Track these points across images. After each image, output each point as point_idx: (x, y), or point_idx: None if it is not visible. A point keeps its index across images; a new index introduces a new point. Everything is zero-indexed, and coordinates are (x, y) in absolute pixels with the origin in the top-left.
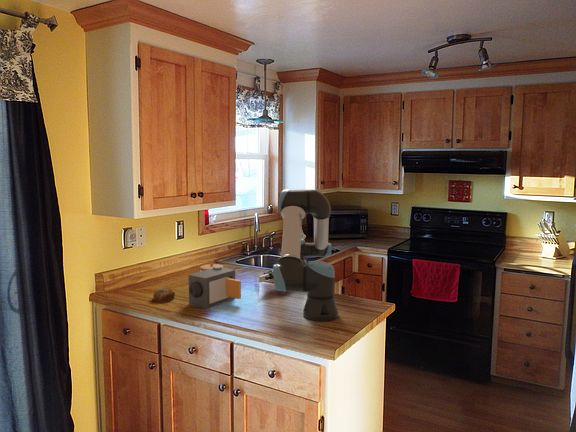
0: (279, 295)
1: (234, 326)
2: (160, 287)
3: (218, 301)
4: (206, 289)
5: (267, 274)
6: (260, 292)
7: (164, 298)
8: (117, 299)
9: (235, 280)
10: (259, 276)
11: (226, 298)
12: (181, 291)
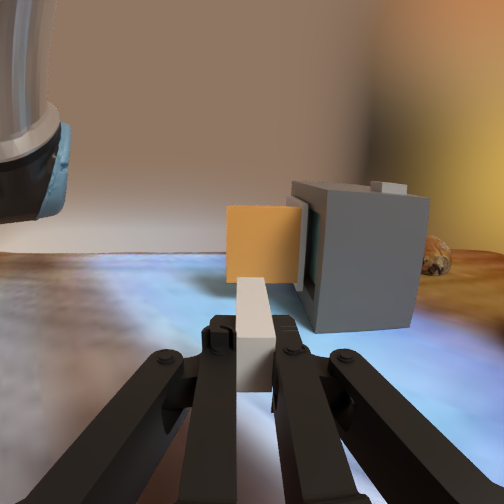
0: None
1: (145, 252)
2: (430, 235)
3: None
4: None
5: (246, 326)
6: None
7: None
8: (452, 250)
9: (245, 205)
10: (255, 277)
11: (304, 296)
12: (482, 295)
